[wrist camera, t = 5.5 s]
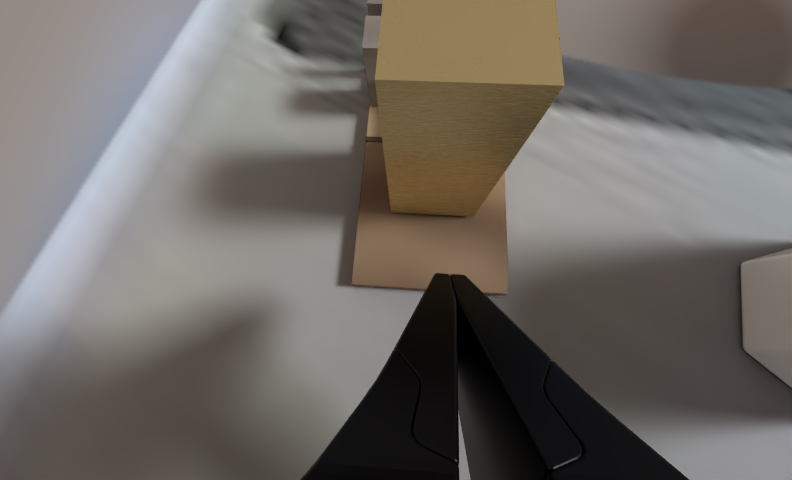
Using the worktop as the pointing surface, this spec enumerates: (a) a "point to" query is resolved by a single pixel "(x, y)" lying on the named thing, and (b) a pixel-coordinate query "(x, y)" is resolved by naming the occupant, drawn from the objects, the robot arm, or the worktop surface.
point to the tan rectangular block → (461, 95)
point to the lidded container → (768, 311)
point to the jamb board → (420, 218)
